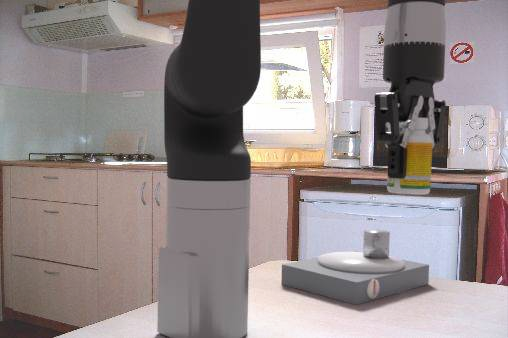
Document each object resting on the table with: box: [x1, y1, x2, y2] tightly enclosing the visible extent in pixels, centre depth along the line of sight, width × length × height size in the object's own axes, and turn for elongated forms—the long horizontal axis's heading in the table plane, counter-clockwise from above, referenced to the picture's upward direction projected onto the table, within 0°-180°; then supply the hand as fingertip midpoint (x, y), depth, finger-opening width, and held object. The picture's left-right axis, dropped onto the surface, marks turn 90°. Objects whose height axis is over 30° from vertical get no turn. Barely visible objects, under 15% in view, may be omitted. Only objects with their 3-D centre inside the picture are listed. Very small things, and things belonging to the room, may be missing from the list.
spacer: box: [362, 229, 391, 259], centre depth 91 cm, size 4×4×4 cm
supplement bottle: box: [386, 118, 433, 196], centre depth 73 cm, size 5×5×10 cm
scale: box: [281, 250, 430, 306], centre depth 87 cm, size 18×14×4 cm
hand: (409, 177), depth 74 cm, fingers closed on supplement bottle, 5 cm apart
